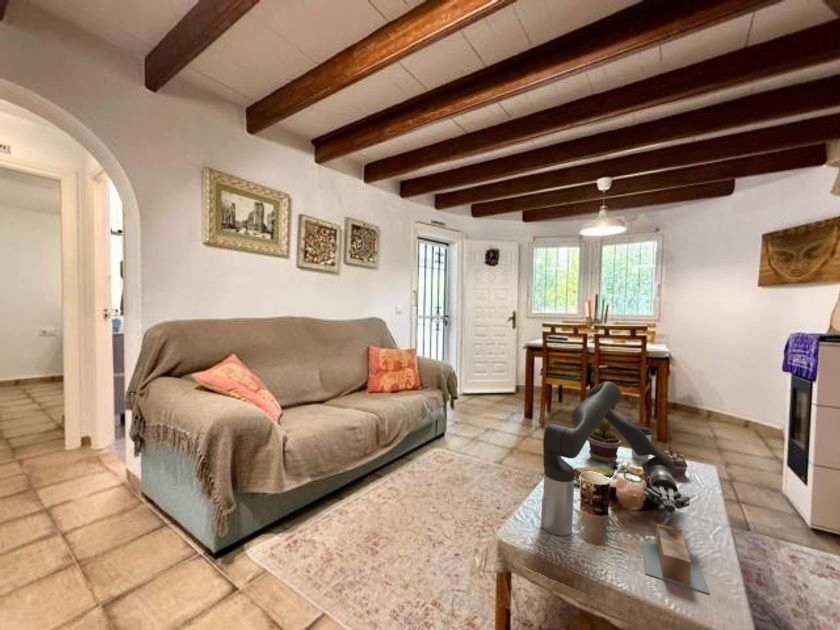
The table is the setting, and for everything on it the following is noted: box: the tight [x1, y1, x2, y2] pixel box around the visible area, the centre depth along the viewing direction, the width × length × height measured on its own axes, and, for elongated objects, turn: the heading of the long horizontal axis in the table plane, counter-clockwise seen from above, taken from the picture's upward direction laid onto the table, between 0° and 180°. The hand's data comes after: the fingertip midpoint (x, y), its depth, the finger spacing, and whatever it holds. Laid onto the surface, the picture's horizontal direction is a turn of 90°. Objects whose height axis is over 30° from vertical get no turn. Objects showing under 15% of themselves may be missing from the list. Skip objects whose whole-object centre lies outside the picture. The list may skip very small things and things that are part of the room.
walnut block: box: [655, 523, 691, 585], centre depth 104 cm, size 6×6×16 cm
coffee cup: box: [631, 424, 653, 461], centre depth 179 cm, size 9×9×15 cm
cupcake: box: [663, 448, 688, 479], centre depth 162 cm, size 10×10×10 cm
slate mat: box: [640, 540, 711, 595], centre depth 104 cm, size 14×16×1 cm
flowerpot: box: [586, 417, 623, 464], centre depth 175 cm, size 14×15×20 cm
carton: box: [573, 465, 615, 479], centre depth 154 cm, size 8×16×4 cm, turn 103°
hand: (670, 509), depth 111 cm, fingers closed
